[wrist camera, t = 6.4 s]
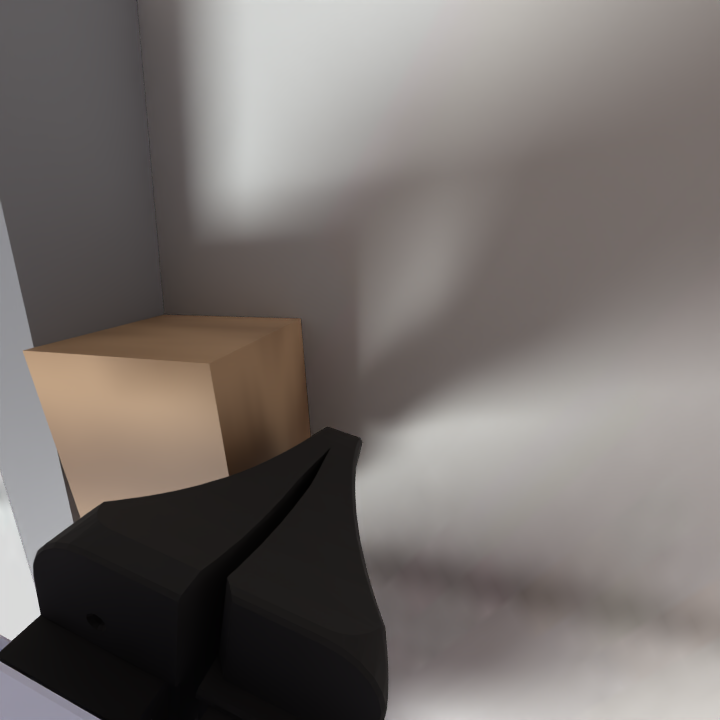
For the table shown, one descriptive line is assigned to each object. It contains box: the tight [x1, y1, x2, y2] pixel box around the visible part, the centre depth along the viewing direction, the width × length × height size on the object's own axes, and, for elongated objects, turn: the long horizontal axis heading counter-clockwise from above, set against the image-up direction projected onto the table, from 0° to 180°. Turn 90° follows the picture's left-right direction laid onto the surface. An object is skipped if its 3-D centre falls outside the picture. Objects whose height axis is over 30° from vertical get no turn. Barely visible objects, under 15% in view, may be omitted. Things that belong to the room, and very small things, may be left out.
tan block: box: [22, 315, 311, 518], centre depth 12 cm, size 8×6×5 cm
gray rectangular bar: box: [0, 0, 164, 588], centre depth 13 cm, size 24×3×5 cm, turn 173°
